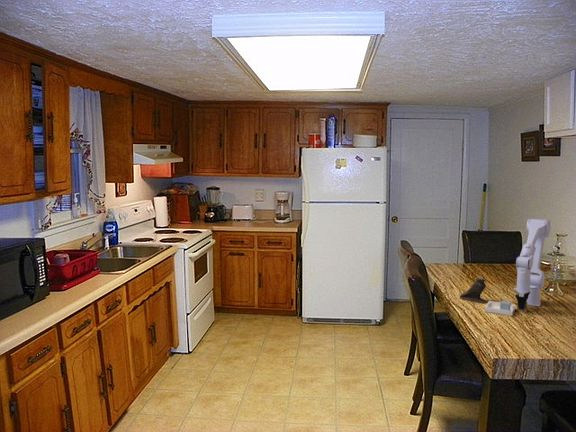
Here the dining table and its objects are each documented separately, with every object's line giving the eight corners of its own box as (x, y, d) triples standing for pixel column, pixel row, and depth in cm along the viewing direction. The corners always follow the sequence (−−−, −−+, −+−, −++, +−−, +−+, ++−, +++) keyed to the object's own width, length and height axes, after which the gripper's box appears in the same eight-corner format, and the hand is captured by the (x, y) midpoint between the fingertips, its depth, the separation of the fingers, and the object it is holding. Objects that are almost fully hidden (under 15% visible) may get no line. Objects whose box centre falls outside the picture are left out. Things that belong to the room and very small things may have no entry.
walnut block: (518, 308, 222) (518, 300, 221) (527, 309, 219) (527, 302, 219) (517, 310, 218) (517, 302, 218) (526, 312, 216) (526, 304, 216)
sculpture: (482, 304, 229) (484, 279, 228) (458, 298, 239) (459, 275, 237) (487, 302, 233) (488, 277, 232) (463, 296, 243) (464, 273, 241)
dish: (489, 305, 226) (489, 300, 226) (515, 309, 220) (515, 304, 219) (484, 312, 216) (485, 307, 216) (512, 316, 210) (512, 311, 210)
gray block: (510, 310, 217) (510, 302, 217) (509, 312, 214) (509, 304, 214) (501, 308, 220) (501, 300, 219) (500, 310, 216) (500, 303, 216)
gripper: (516, 276, 225) (514, 302, 227) (512, 282, 213) (511, 309, 215) (531, 278, 222) (530, 304, 223) (529, 284, 210) (527, 312, 211)
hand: (522, 307), depth 219 cm, fingers open, 7 cm apart
